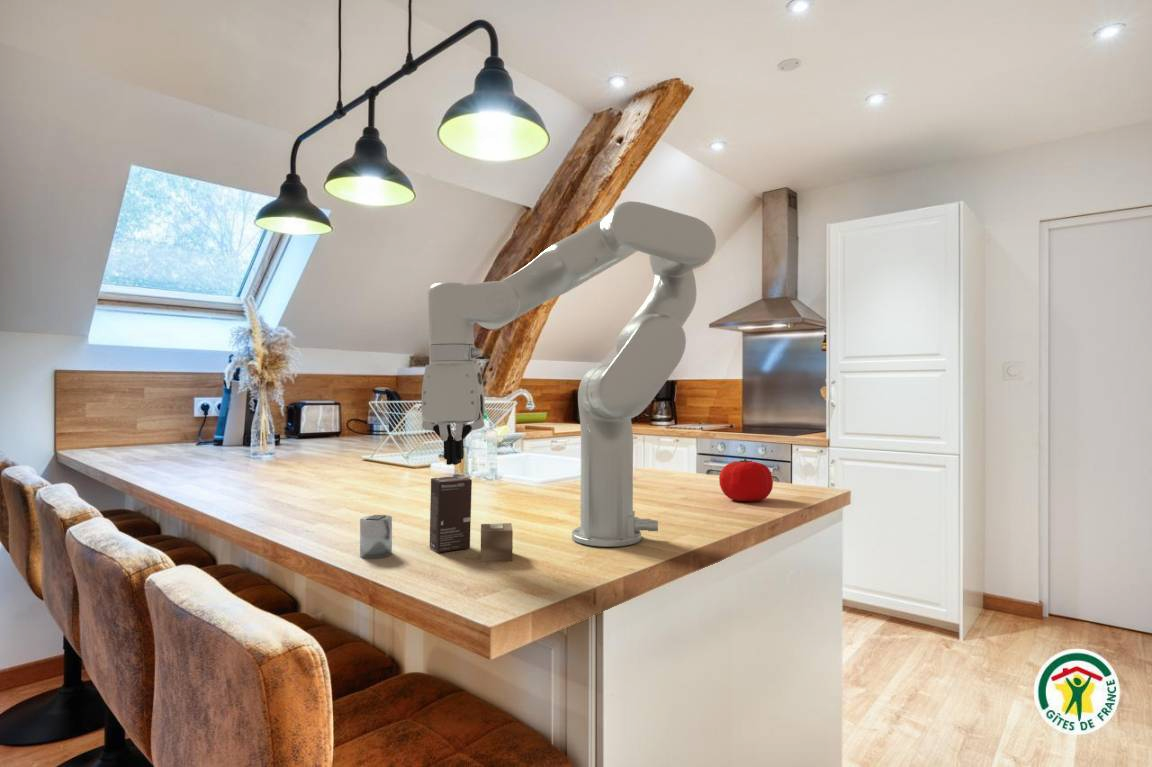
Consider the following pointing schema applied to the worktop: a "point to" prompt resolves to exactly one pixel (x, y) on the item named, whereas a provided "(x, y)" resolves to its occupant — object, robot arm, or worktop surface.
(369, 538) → the grey tin
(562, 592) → the worktop surface
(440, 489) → the box
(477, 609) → the worktop surface
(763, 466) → the tomato
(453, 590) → the worktop surface
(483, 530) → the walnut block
